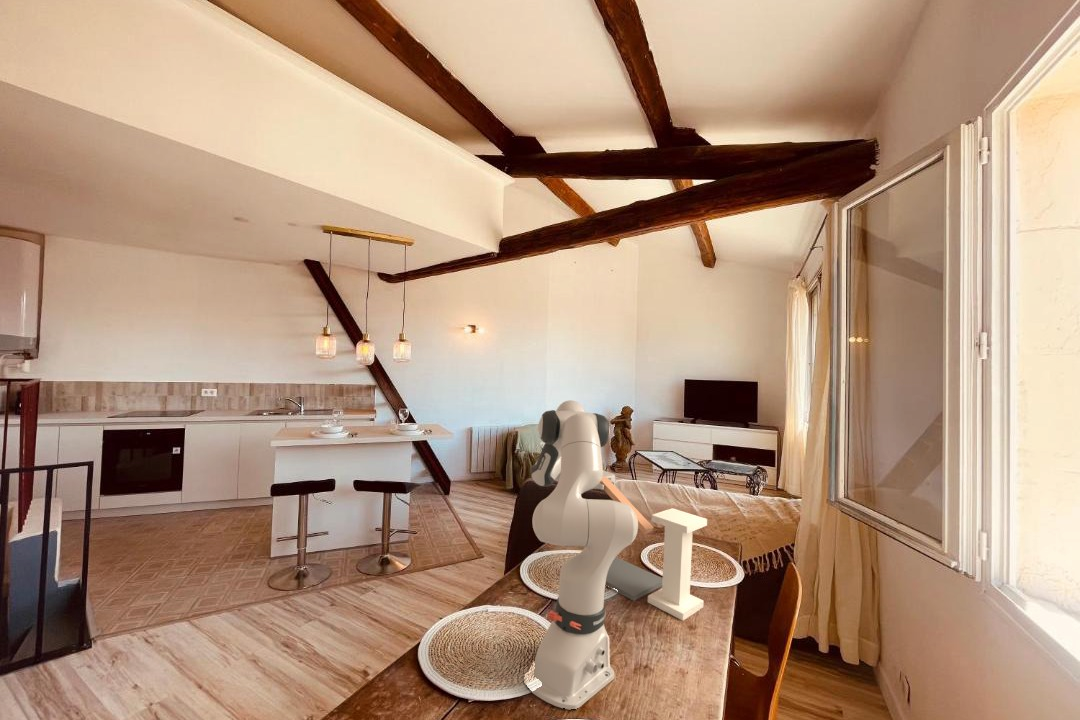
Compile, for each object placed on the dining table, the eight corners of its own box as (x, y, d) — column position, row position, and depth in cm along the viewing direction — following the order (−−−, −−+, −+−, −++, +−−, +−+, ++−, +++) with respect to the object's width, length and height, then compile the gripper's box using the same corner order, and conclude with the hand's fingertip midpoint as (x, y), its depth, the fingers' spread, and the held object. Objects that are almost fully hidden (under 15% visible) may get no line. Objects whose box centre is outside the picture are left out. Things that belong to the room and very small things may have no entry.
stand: (647, 602, 132) (651, 514, 132) (668, 590, 140) (672, 508, 140) (682, 620, 123) (687, 526, 123) (703, 607, 131) (707, 519, 131)
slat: (597, 482, 155) (599, 478, 154) (604, 481, 157) (606, 477, 157) (643, 534, 139) (646, 530, 138) (650, 531, 141) (653, 527, 141)
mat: (573, 568, 151) (573, 564, 151) (606, 556, 163) (606, 552, 163) (633, 601, 132) (633, 596, 132) (665, 584, 144) (665, 579, 144)
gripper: (562, 472, 157) (590, 481, 146) (598, 466, 170) (626, 473, 160) (561, 489, 156) (589, 499, 146) (597, 482, 170) (625, 490, 160)
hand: (609, 486), depth 153 cm, fingers closed on slat, 4 cm apart
